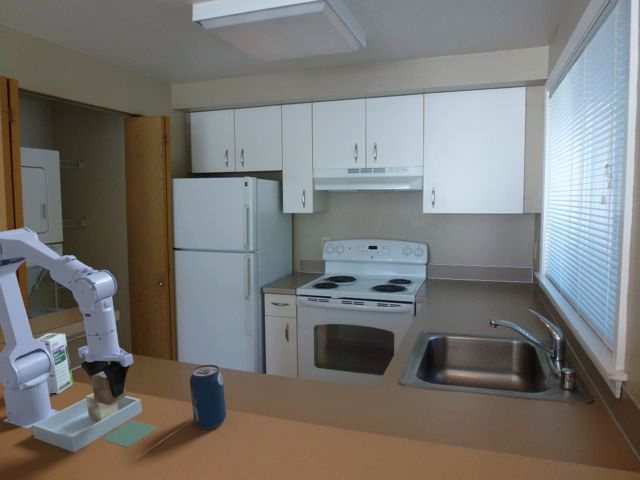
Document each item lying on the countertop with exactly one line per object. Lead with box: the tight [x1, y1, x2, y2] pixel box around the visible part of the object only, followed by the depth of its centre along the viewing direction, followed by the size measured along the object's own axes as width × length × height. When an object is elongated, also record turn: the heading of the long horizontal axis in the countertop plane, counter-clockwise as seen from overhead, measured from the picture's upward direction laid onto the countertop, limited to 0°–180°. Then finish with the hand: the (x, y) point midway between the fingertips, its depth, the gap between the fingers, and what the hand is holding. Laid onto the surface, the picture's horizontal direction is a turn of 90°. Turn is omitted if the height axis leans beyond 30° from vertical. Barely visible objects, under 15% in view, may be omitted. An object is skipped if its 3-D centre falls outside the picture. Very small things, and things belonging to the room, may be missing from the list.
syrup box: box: [35, 332, 74, 395], centre depth 127 cm, size 6×6×14 cm
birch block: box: [85, 392, 118, 422], centre depth 110 cm, size 4×4×6 cm
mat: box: [100, 419, 159, 448], centre depth 103 cm, size 8×8×1 cm
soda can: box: [189, 364, 227, 430], centre depth 106 cm, size 7×7×12 cm
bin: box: [32, 395, 143, 453], centre depth 108 cm, size 13×17×4 cm
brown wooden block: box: [90, 371, 128, 405], centre depth 102 cm, size 4×4×6 cm
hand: (110, 393), depth 102 cm, fingers closed on brown wooden block, 4 cm apart
